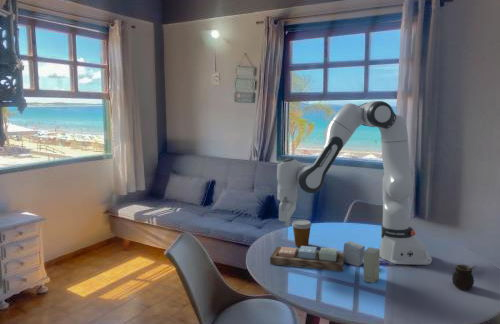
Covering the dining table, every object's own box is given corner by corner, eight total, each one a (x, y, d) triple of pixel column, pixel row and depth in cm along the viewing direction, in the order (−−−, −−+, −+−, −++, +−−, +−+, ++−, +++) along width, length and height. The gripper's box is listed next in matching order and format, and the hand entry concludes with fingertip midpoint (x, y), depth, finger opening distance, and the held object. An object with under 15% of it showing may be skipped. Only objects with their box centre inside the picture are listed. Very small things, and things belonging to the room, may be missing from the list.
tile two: (316, 253, 173) (316, 246, 173) (314, 259, 167) (314, 252, 166) (301, 251, 175) (301, 245, 175) (298, 257, 169) (298, 250, 168)
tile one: (337, 255, 170) (337, 248, 170) (335, 261, 164) (335, 254, 163) (321, 253, 173) (321, 247, 172) (319, 259, 166) (319, 252, 165)
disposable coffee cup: (312, 248, 186) (312, 224, 184) (292, 249, 186) (292, 225, 185) (310, 241, 196) (310, 219, 194) (291, 242, 196) (291, 219, 194)
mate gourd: (453, 281, 150) (455, 256, 148) (475, 286, 145) (478, 261, 144) (449, 287, 144) (451, 262, 143) (472, 294, 140) (474, 268, 138)
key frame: (344, 259, 173) (344, 253, 172) (342, 271, 161) (342, 264, 160) (277, 252, 182) (277, 246, 182) (270, 263, 170) (270, 257, 169)
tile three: (296, 254, 176) (296, 247, 176) (293, 260, 169) (293, 253, 169) (281, 253, 178) (281, 246, 178) (278, 258, 172) (278, 251, 171)
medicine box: (362, 264, 168) (365, 246, 167) (357, 267, 165) (360, 248, 163) (346, 258, 174) (349, 240, 172) (341, 261, 170) (344, 242, 169)
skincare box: (373, 283, 149) (374, 254, 147) (362, 280, 152) (363, 251, 150) (379, 278, 154) (380, 248, 152) (368, 275, 157) (369, 246, 155)
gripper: (289, 201, 159) (290, 233, 161) (298, 190, 178) (299, 219, 180) (274, 200, 161) (275, 232, 163) (285, 189, 180) (285, 218, 182)
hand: (287, 225), depth 172 cm, fingers closed
